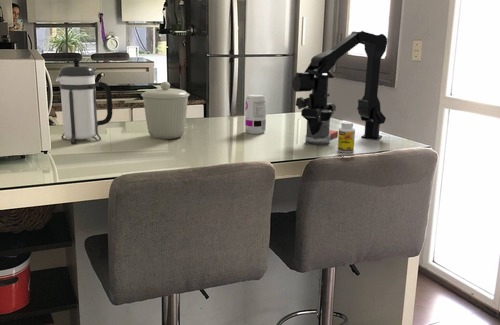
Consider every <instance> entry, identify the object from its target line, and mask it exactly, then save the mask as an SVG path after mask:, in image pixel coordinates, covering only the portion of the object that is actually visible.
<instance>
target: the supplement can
mask: <svg viewBox="0 0 500 325" xmlns="http://www.w3.org/2000/svg"><path fill="white" fill-rule="evenodd" d="M246 95H247V96H246V98H245V112H244V114H245V115H244V116H245V117H244V118H245V120H244V121H245V122H244V123H245V124H244V126H245V127H244V128H245V129H244V131H245V132H246V133H247V134H251V135H260V134H264V133H265V132H266V127H267V126H266V125H267V124H266V123H267V122H266V120H267V119H266V118H267V98H266V96H265V95H264V94H260V93H259V94H255V93H254V94H253V93H251V94H246Z"/></svg>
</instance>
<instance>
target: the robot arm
mask: <svg viewBox="0 0 500 325" xmlns="http://www.w3.org/2000/svg"><path fill="white" fill-rule="evenodd" d="M359 44H362V45H364V52H365V54H366V57H367V60H366V61H367V62H366V70H365V73H366V74H365V82H364V83H365V84H364V95H363V96H362V98H361V99H360V98H358V99H357V100H358V101H357V104H358V105H357V108H356V110H357V112H358V115H359V117H360V119H361V121H362V122H363V121H364V134H362V135H361V138H362V139H363V138H364V139H370V140H371V139H372V140H378V139H380V138H382V137H383V136H382V134H380V131H381V130H380V129H381V124H385V122H386V119H387V118H386V116H385V115H384V114H383V113H382V110H381V108H382V107H381V102H380V100H379V96H378V92H379V80H380V73H381V72H380V70H381V62H382V61H381V60H382V57H383V56H384V54H385V53H386V49H387V46H388V38H387V36H386V35H385V34H384V33H371V32H367V31H364V30H353V31H352V32H350V34H348V35H347V36H346V37H345V38H343V39H342V40H340V41H339V42H338V43H337V44H335V45H334V46H333V47H331V48H329V49H328V50H326V51H322V52H320V53H317V54H315V55H314V56H313V57H312V58H311V60H310V63H309V64H308V66H307V68H306V69H305V70H304V72H299V71H298V72H295V76H294V77H293V79H292V82H291V84H292V85H291V86H292V89H293V92H296V93H297V92H298V93H300V92H301V93H302V92H309V95H308V97H306V98H303V97H302V96H301V97H297V98H296V101H295V106H296V107H297V109H298V110H301V112H300V113H301V114H300V117H302V118H304V119H305V120H306V122H307V121H308V123H309V127H310V131H311V134H312V135H315V132H316V130H317V127H318V124H319V121H320V119H326V120H330V121H331V118H332V117H333V115H334V114H335V112H336V111H337V109H336V108H337V106H336V104H335V103H333V102H328V97H330V93H329V79H334V78H335V77H334V75H333V74H332V73H331V71H330V70H332V69H333V67H335V65H336V64H337V62H338V60H340V59H341V57H343V56H344V55H346V54H347V53H348V52H350V51H351V50H352V49H354V48H355V47H356V46H358V45H359ZM310 92H311V93H310Z"/></svg>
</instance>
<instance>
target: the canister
mask: <svg viewBox="0 0 500 325" xmlns="http://www.w3.org/2000/svg"><path fill="white" fill-rule="evenodd" d="M170 87H171V83H170V82H168V81H162V82H161V83H160V88H153V89H147V90H145V91H144V92H142V93H141V94H140V96H141V97H142V99H143V106H144V112H145V115H144V116H145V120H146V121H145V122H146V126H147V130H148V134H149V135H150V137H151V138H154V139H158V140H174V139H178V138H181V137H182V136H183V134H184V132H185V128H186V121H187V114H188V113H187V111H188V110H187V109H188V100H189V97H190V95H191V94H190V93H189V92H187V91H186V90H183V89H179V88H170Z"/></svg>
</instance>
